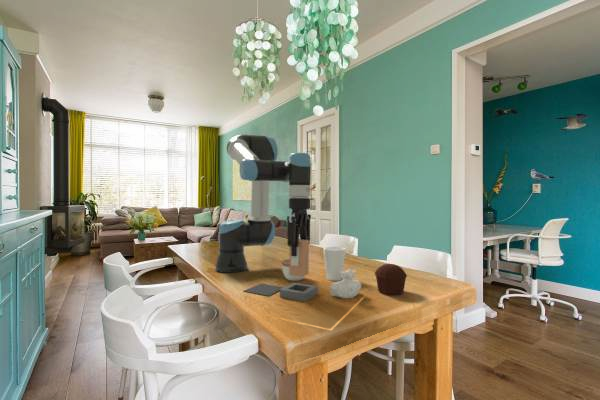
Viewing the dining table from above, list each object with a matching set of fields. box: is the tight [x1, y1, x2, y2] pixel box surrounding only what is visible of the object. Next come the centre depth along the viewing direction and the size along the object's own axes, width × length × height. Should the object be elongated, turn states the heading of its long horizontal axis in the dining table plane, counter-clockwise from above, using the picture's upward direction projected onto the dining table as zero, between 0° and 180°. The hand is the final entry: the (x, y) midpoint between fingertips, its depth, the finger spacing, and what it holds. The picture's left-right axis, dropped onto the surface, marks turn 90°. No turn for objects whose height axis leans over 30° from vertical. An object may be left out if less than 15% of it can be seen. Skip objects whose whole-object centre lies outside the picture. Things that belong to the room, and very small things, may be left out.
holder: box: [279, 282, 319, 303], centre depth 107 cm, size 10×10×3 cm
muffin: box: [374, 263, 408, 297], centre depth 113 cm, size 12×11×10 cm
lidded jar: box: [281, 258, 305, 282], centre depth 129 cm, size 11×11×9 cm
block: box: [288, 238, 310, 277], centre depth 108 cm, size 5×5×12 cm
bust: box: [329, 268, 362, 299], centre depth 106 cm, size 12×8×11 cm
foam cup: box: [322, 246, 347, 282], centre depth 131 cm, size 10×9×13 cm
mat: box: [243, 283, 285, 298], centre depth 113 cm, size 11×11×1 cm
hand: (299, 263), depth 108 cm, fingers closed on block, 5 cm apart
